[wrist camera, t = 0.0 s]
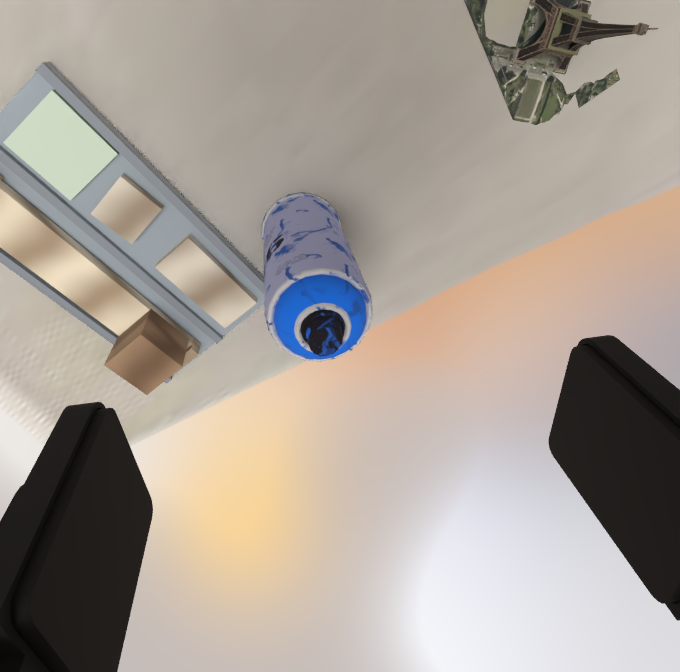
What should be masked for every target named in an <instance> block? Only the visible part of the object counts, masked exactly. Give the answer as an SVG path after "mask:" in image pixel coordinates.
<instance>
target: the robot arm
mask: <svg viewBox="0 0 680 672" xmlns="http://www.w3.org/2000/svg"><path fill="white" fill-rule="evenodd" d="M549 447H550V450H551V453H552V454H553V456H554V458H555V459H556V461H557V462H558V464H559V465H560V466H561V468H562V469H563V471H564V472H565V473H566V475H567V476H568V478H569V479H570V480H571V482H572V483H573V485H574V486H575V487H576V489H577V490H578V492H579V493H580V495H581V496H582V497H583V499H584V500H585V502H586V503H587V504H588V506H589V507H590V509H591V510H592V511H593V513H594V514H595V516H596V517H597V519H598V520H599V521H600V523H601V524H602V526H603V527H604V528H605V530H606V531H607V532H608V534H609V535H610V537H611V538H612V540H613V541H614V543H615V544H616V545H617V547H618V548H619V550H620V551H621V552H622V554H623V555H624V557H625V558H626V559H627V561H628V562H629V564H630V565H631V567H632V568H633V569H634V571H635V572H636V573H637V575H638V576H639V578H640V579H641V581H642V582H643V584H644V585H645V586H646V588H647V589H648V591H649V592H650V593H651V595H652V596H653V597H654V598H655V599H656V600H657V601H659V602H661V603H665V604H666V605H667V607H668V608H669V610H670V611H671V613H672V614H673V615H674V617H675V618H676V619H677V620H680V390H679V389H678V388H676V387H675V386H674V385H673V384H672V383H670V382H669V381H668V380H667V379H665V378H664V377H663V376H662V375H661V374H660V373H658V372H657V371H656V370H655V369H653V368H652V367H651V366H650V365H649V364H647V363H646V362H645V361H644V360H643V359H641V358H640V357H639V356H638V355H637V354H635V353H634V352H633V351H632V350H630V349H629V348H628V347H627V346H626V345H625V344H623V343H622V342H621V341H620V340H619V339H617V338H615V337H614V336H610V335H607V336H600V337H592V338H585V339H582V340H581V341H580V342H579V344H578V345H577V347H574V348H573V349H572V351H571V353H570V358H569V362H568V365H567V369H566V373H565V377H564V381H563V385H562V389H561V393H560V397H559V401H558V404H557V408H556V413H555V417H554V420H553V424H552V428H551V432H550V436H549ZM152 513H153V506H152V500H151V497H150V495H149V492H148V490H147V487H146V485H145V483H144V480H143V477H142V475H141V473H140V470H139V468H138V465H137V463H136V461H135V459H134V456H133V453H132V451H131V448H130V446H129V443H128V441H127V438H126V436H125V434H124V431H123V429H122V426H121V424H120V421H119V419H118V417H117V414H116V412H115V410H114V409H113V408H105V406H104V405H103V404H102V403H101V402H94V403H86V404H79V405H71V406H68V407H66V408H65V409H64V410H63V412H62V414H61V416H60V418H59V420H58V421H57V423H56V425H55V427H54V429H53V431H52V433H51V435H50V436H49V438H48V440H47V442H46V444H45V446H44V448H43V450H42V452H41V453H40V455H39V457H38V459H37V461H36V463H35V465H34V467H33V468H32V470H31V472H30V474H29V476H28V478H27V480H26V482H25V484H24V485H22V486H21V487H20V488H19V490H18V491H17V492H16V494H15V496H14V497H13V499H12V501H11V503H10V505H9V506H8V508H7V510H6V512H5V514H4V516H3V517H2V519H1V521H0V672H117V670H118V665H119V660H120V657H121V652H122V648H123V643H124V639H125V634H126V630H127V625H128V621H129V617H130V612H131V608H132V604H133V599H134V594H135V590H136V586H137V581H138V576H139V573H140V568H141V564H142V559H143V555H144V551H145V546H146V542H147V537H148V533H149V528H150V524H151V520H152Z"/></svg>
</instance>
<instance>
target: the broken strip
mask: <svg viewBox="0 0 680 672" xmlns="http://www.w3.org/2000/svg"><path fill="white" fill-rule="evenodd" d="M163 206H164V205H163V204H162V203H161V202H159V201H158V200H157V199H156V198H154V197H153V196H152V195H151V194H149V193H148V192H147V191H146V190H144V189H143V188H142V187H141V186H139V185H138V184H137V183H136V182H135V181H133V180H132V179H131V178H130V177H128V176H127V175H126V174H125V173H123V174H122V175H121V176H120V178H119V179H118V180H117V181H116V183H115V184H114V185H113V186H112V188H111V189H110V190H109V191H108V193H107V194H106V195H105V196H104V198H103V199H102V200H101V201H100V203H99V204H98V205H97V206H96V208H95V209H94V210H93V211H92V213H91V215H93V216H94V217H95V218H97V219H98V220H99V221H101V222H102V223H104V224H105V225H106V226H108V227H109V228H110V229H112V230H113V231H114V232H116V233H117V234H119V235H120V236H121V237H123V238H124V239H125V240H127V241H128V242H129V243H131V244H132V243H133V242H134V241H135V240H136V239H137V238H138V236H139V235H140V234H141V233H142V232H143V231H144V229H145V228H146V227H147V226H148V225H149V224H150V222H151V221H152V220H153V219H154V218H155V217H156V215H157V214H158V213H159V212H160V211H161V210H162V208H163ZM155 268H156V269H157V270H158V271H160V272H161V273H162V274H163V275H164V276H165V277H166V278H168V279H169V280H170V281H171V282H172V283H173V284H174V285H176V286H177V287H178V288H179V289H180V290H181V291H182V292H184V293H185V294H186V295H187V296H188V297H189V298H190V299H192V300H193V301H194V302H195V303H196V304H197V305H198V306H200V307H201V308H202V309H203V310H204V311H205V312H206V313H208V314H209V315H210V316H211V317H212V318H213V319H214V320H216V321H217V322H218V323H219V324H220V325H221V326H223V327H224V328H226V327H227V326H229V325H230V324H231V323H232V322H234V321H235V320H236V319H237V318H239V317H240V316H241V315H242V314H244V313H245V312H246V311H247V310H249V309H250V308H251V307H252V306H254V305H255V304H256V303H257V297H256V296H255V295H254V294H253V293H251V292H250V291H249V290H248V289H247V288H246V287H245V286H244V285H243V284H242V283H241V282H240V281H239V280H238V279H237V278H236V277H235V276H234V275H233V274H232V273H231V272H230V271H229V270H228V269H227V268H226V267H225V266H223V265H222V264H221V263H220V262H219V261H218V260H217V259H216V258H215V257H214V256H213V255H212V254H211V253H210V252H209V251H208V250H207V249H206V248H205V247H204V246H203V245H202V244H201V243H200V242H199V241H198V240H197V239H195V238H194V237H193V236H192V235H191V234H189V235H187V236H186V237H185V238H184V239H183V240H182V241H181V242H180V243H178V244H177V245H176V246H175V247H174V248H173V249H172V250H170V251H169V252H168V253H167V254H166V255H165V256H164V257H162V258H161V259H160V260H159V261H158V262H157V264H156V266H155Z"/></svg>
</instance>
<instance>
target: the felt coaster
mask: <svg viewBox="0 0 680 672" xmlns="http://www.w3.org/2000/svg"><path fill="white" fill-rule="evenodd" d="M3 143H4V144H5V145H6V146H7V147H9V148H10V149H11V150H12V151H13V152H14V153H16V154H17V155H18V156H19V157H20V158H21V159H22V160H24V161H25V162H26V163H27V164H28V165H29V166H31V167H32V168H33V169H34V170H35V171H36V172H37V173H39V174H40V175H41V176H42V177H43V178H44V179H46V180H47V181H48V182H49V183H50V184H51V185H53V186H54V187H55V188H56V189H57V190H58V191H59V192H61V193H62V194H63V195H64V196H65V197H66V198H68V199H69V200H70V201H71V200H72V199H73V198H74V197H75V196H76V195H77V194H78V193H79V192H80V191H81V190H82V189H83V188H84V187H85V186H86V185H87V184H88V183H89V182H90V181H91V180H92V179H93V178H94V177H95V176H96V175H97V174H98V173H99V172H100V171H101V170H103V169H104V168H105V167H106V166H107V165H108V164H109V163H110V162H111V161H112V160H113V159H114V158H115V157H116V156H117V155H118V154H119V152H118V151H117V150H116V149H115V148H114V147H113V146H112V145H111V144H110V143H109V142H108V141H107V140H106V139H105V138H104V137H103V136H102V135H101V134H100V133H99V132H98V131H97V130H96V129H95V128H94V127H93V126H92V125H91V124H90V123H89V122H88V121H87V120H86V119H85V118H84V117H82V116H81V115H80V114H79V113H78V112H77V111H76V110H75V109H74V108H73V107H72V106H71V105H70V104H69V103H68V102H67V101H66V100H65V99H64V98H63V97H62V96H61V95H60V94H59V93H58V92H57V91H56V90H55V89H54V90H51V92H50V93H49V94H48V95H47V96H46V97H45V98H44V99H43V100H42V101H41V102H40V103H39V104H38V106H37V107H36V108H35V109H34V110H33V111H32V112H31V113H30V114H29V115H28V116H27V117H26V118H25V120H24V121H23V122H22V123H21V124H20V125H19V126H18V127H17V128H16V129H15V130H14V131H13V132H12V134H11V135H10V136H9V137H8V138H7V139H6V140H5V141H4V142H3Z"/></svg>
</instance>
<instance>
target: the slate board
mask: <svg viewBox="0 0 680 672" xmlns="http://www.w3.org/2000/svg"><path fill="white" fill-rule="evenodd" d="M36 71H37V72H36V73H35V74H34V76H33V77H32V78H31V79H30V80H29V81H28V82H27V83H26V84H25V86H24V87H23V88H22V89H21V90H20V91H19V92H18V93H17V94H16V95H15V97H14V98H13V99H12V100H11V101H10V102H9V103H8V104H7V105H6V107H5V108H4V109H3V110H2V111H1V112H0V175H1V176H2V177H3V178H2V179H1V180H2V181H3V182H4V183H6V184H7V185H8V186H9V187H10V188H12V189H13V190H14V191H15V192H17V193H18V194H19V195H20V196H21V197H23V198H24V199H25V200H26V201H27V202H29V203H30V204H31V205H32V206H34V207H35V208H36V209H37V210H38V211H40V212H41V213H42V214H43V215H44V216H46V217H47V218H48V219H49V220H51V221H52V222H53V223H54V224H55V225H57V226H58V227H59V228H60V229H61V230H63V231H64V232H65V233H66V234H68V235H69V236H70V237H71V238H72V239H74V240H75V241H76V242H77V243H79V244H80V245H81V246H82V247H83V248H85V249H86V250H87V251H88V252H89V253H91V254H92V255H93V256H94V257H96V258H97V259H98V260H99V261H100V262H102V263H103V264H104V265H105V266H106V267H108V268H109V269H110V270H111V271H113V272H114V273H115V274H116V275H117V276H119V277H120V278H121V279H122V280H123V281H125V282H126V283H127V284H128V285H130V286H131V287H132V288H133V289H134V290H136V291H137V292H138V293H139V294H141V295H142V296H143V297H144V298H145V299H147V300H148V301H149V302H150V303H151V304H153V305H154V306H155V307H156V308H158V309H159V310H160V311H161V312H162V313H164V314H165V315H166V316H167V317H168V318H170V319H171V320H172V321H173V322H175V323H176V324H177V325H178V326H179V327H181V328H182V329H183V330H184V331H185V332H187V333H188V334H189V335H190V336H192V337H193V338H194V339H195V340H196V341H198V342H199V343H200V349H199V354H198V355H197V356H199V355H200V354H201V353H202V352H204V351H205V350H206V349H207V348H209V347H210V346H211V345H212V344H214V343H218V342H220V341H221V340H222V338H223V336H224V335H225V334H226V333H228V332H229V331H230V330H231V329H233V328H234V327H235V326H236V325H238V324H239V323H240V322H241V321H243V320H244V319H245V318H247V317H248V316H249V315H250V314H252V313H253V312H254V311H255V310H257V309H258V308H259V307H260V306H262V305H263V304H264V303H265V295H264V277H263V276H262V275H261V274H260V273H259V272H258V271H257V270H256V269H255V268H254V267H253V266H252V265H251V264H250V263H249V262H248V261H247V260H246V259H245V258H244V257H243V256H242V255H241V254H240V253H239V252H238V251H237V250H236V249H235V248H234V247H233V246H232V245H231V244H230V243H229V242H228V241H227V240H226V239H225V238H224V237H223V236H222V235H221V234H220V233H219V232H218V231H217V230H216V229H215V228H214V227H213V226H212V225H211V224H210V223H209V222H208V221H207V220H206V219H205V218H204V217H203V216H202V215H201V214H200V213H199V212H198V211H197V210H196V209H195V208H194V207H193V206H192V205H191V204H190V203H189V202H188V201H187V200H186V199H185V198H184V197H183V196H182V195H181V194H180V193H179V192H178V191H177V190H176V189H175V188H174V187H173V186H172V185H171V184H170V183H169V182H168V181H167V180H166V179H165V178H164V177H163V176H162V175H161V174H160V173H159V172H158V171H157V170H156V169H155V168H154V167H153V166H152V165H151V164H150V163H149V162H148V161H147V160H146V159H145V158H144V157H143V156H142V155H141V154H140V153H139V152H138V151H137V150H136V149H135V148H134V147H133V146H132V145H131V144H130V143H129V142H128V141H127V140H126V139H125V138H124V137H123V136H122V135H121V134H120V133H119V132H118V131H117V130H116V129H115V128H114V127H113V126H112V125H111V124H110V123H109V122H108V121H107V120H106V119H105V118H104V117H103V116H102V115H101V114H100V112H99V111H98V110H97V109H96V108H95V107H94V106H93V105H92V104H91V103H90V102H89V101H88V100H87V99H86V98H85V97H84V96H83V95H82V94H81V93H80V92H79V91H78V90H77V89H76V88H75V87H74V86H73V85H72V84H71V83H70V82H69V81H68V80H67V79H66V78H65V77H64V76H63V75H62V74H61V73H60V72H59V71H58V70H57V69H56V68H55V67H54V66H53V65H52V64H51V63H50V62H45V63H42V64H41V65H40V66H39V67H38V68H37V69H36ZM54 89H55V90H56V91H57V92H58V93H59V94H60V95H61V96H62V97H63V98H64V99H65V100H66V101H67V102H68V103H69V104H70V105H71V106H72V107H73V108H74V109H75V110H76V111H77V112H78V113H79V114H80V115H81V116H82V117H84V118H85V119H86V120H87V121H88V122H89V123H90V124H91V125H92V126H93V127H94V128H95V129H96V130H97V131H98V132H99V133H100V134H101V135H102V136H103V137H104V138H105V139H106V140H107V141H108V142H109V143H110V144H111V145H112V146H113V147H114V148H115V149H116V150H117V151H118V152H119V154H118V155H117V156H116V157H115V158H114V159H113V160H112V161H111V162H110V163H109V164H108V165H107V166H106V167H105V168H104V169H103V170H101V171H100V172H99V173H98V174H97V175H96V176H95V177H94V178H93V179H92V180H91V181H90V182H89V183H88V184H87V185H86V186H85V187H84V188H83V189H82V190H81V191H80V192H79V193H78V194H77V195H76V196H75V197H74V198H73V199H72V200H71V201H70V200H69V199H68V198H66V197H65V196H64V195H63V194H62V193H61V192H59V191H58V190H57V189H56V188H55V187H54V186H53V185H51V184H50V183H49V182H48V181H47V180H46V179H44V178H43V177H42V176H41V175H40V174H39V173H37V172H36V171H35V170H34V169H33V168H32V167H31V166H29V165H28V164H27V163H26V162H25V161H24V160H22V159H21V158H20V157H19V156H18V155H17V154H16V153H14V152H13V151H12V150H11V149H10V148H9V147H7V146H6V145H5V144H4V143H3V142H4V141H5V140H6V139H7V138H8V137H9V136H10V135H11V134H12V132H13V131H14V130H15V129H16V128H17V127H18V126H19V125H20V124H21V123H22V122H23V121H24V120H25V118H26V117H27V116H28V115H29V114H30V113H31V112H32V111H33V110H34V109H35V108H36V107H37V106H38V104H39V103H40V102H41V101H42V100H43V99H44V98H45V97H46V96H47V95H48V94H49V93H50V92H51V90H54ZM123 173H125V174H126V175H127V176H128V177H130V178H131V179H132V180H133V181H135V182H136V183H137V184H138V185H139V186H141V187H142V188H143V189H144V190H146V191H147V192H148V193H149V194H151V195H152V196H153V197H154V198H156V199H157V200H158V201H159V202H161V203H162V204H163V205H164V206H163V208H162V210H161V211H160V212H159V213H158V214H157V215H156V217H155V218H154V219H153V220H152V221H151V222H150V224H149V225H148V226H147V227H146V228H145V229H144V231H143V232H142V233H141V234H140V235H139V236H138V238H137V239H136V240H135V241H134V242H133V243H132V244H131V243H129V242H128V241H127V240H125V239H124V238H123V237H121V236H120V235H119V234H117V233H116V232H114V231H113V230H112V229H110V228H109V227H108V226H106V225H105V224H104V223H102V222H101V221H99V220H98V219H97V218H95V217H94V216H93V215H91V213H92V211H93V210H94V209H95V208H96V206H97V205H98V204H99V203H100V201H101V200H102V199H103V198H104V196H105V195H106V194H107V193H108V191H109V190H110V189H111V188H112V186H113V185H114V184H115V183H116V181H117V180H118V179H119V178H120V176H121V175H122V174H123ZM189 234H191V235H192V236H193V237H194V238H195V239H197V240H198V241H199V242H200V243H201V244H202V245H203V246H204V247H205V248H206V249H207V250H208V251H209V252H210V253H211V254H212V255H213V256H214V257H215V258H216V259H217V260H218V261H219V262H220V263H221V264H222V265H223V266H225V267H226V268H227V269H228V270H229V271H230V272H231V273H232V274H233V275H234V276H235V277H236V278H237V279H238V280H239V281H240V282H241V283H242V284H243V285H244V286H245V287H246V288H247V289H248V290H249V291H250V292H251V293H253V294H254V295H255V296H256V297H257V303H256V304H255V305H254V306H252V307H251V308H250V309H249V310H247V311H246V312H245V313H244V314H242V315H241V316H240V317H239V318H237V319H236V320H235V321H234V322H232V323H231V324H230V325H229V326H227V327H226V328H224V327H223V326H221V325H220V324H219V323H218V322H217V321H216V320H214V319H213V318H212V317H211V316H210V315H209V314H208V313H206V312H205V311H204V310H203V309H202V308H201V307H200V306H198V305H197V304H196V303H195V302H194V301H193V300H192V299H190V298H189V297H188V296H187V295H186V294H185V293H184V292H182V291H181V290H180V289H179V288H178V287H177V286H176V285H174V284H173V283H172V282H171V281H170V280H169V279H168V278H166V277H165V276H164V275H163V274H162V273H161V272H160V271H158V270H157V269H156V268H155V266H156V264H157V262H158V261H159V260H160V259H161V258H162V257H164V256H165V255H166V254H167V253H168V252H169V251H170V250H172V249H173V248H174V247H175V246H176V245H177V244H178V243H180V242H181V241H182V240H183V239H184V238H185V237H186V236H187V235H189ZM0 262H1V263H3V264H4V265H5V266H7V267H8V268H9V269H11V270H12V271H13V272H15V273H16V274H18V275H19V276H20V277H22V278H23V279H24V280H26V281H27V282H29V283H30V284H31V285H33V286H34V287H35V288H37V289H38V290H39V291H41V292H42V293H44V294H45V295H46V296H48V297H49V298H50V299H52V300H53V301H54V302H56V303H57V304H59V305H60V306H61V307H63V308H64V309H65V310H67V311H68V312H69V313H71V314H72V315H74V316H75V317H76V318H78V319H79V320H80V321H82V322H83V323H85V324H86V325H87V326H89V327H90V328H91V329H93V330H94V331H95V332H97V333H98V334H100V335H101V336H102V337H104V338H105V339H106V340H108V341H109V342H110V343H112V344H113V345H114V344H115V342H116V340H117V338H118V337H119V336H118V335H117V334H116V333H114V332H113V331H112V330H110V329H109V328H108V327H106V326H105V325H104V324H102V323H101V322H100V321H98V320H97V319H96V318H94V317H93V316H92V315H90V314H89V313H88V312H86V311H85V310H84V309H82V308H81V307H80V306H78V305H77V304H76V303H74V302H73V301H72V300H70V299H69V298H68V297H66V296H65V295H64V294H62V293H61V292H59V291H58V290H57V289H55V288H54V287H53V286H51V285H50V284H49V283H47V282H46V281H45V280H43V279H42V278H41V277H39V276H38V275H37V274H35V273H34V272H33V271H31V270H30V269H29V268H27V267H26V266H25V265H23V264H22V263H21V262H19V261H18V260H17V259H15V258H14V257H13V256H11V255H10V254H9V253H7V252H6V251H5V250H3V249H2V248H1V247H0ZM197 356H196V357H197ZM196 357H195V358H196ZM195 358H193V359H192V360H194V359H195ZM192 360H191V361H192ZM191 361H190V362H191ZM190 362H188V363H190ZM188 363H187V364H188ZM187 364H186V365H187ZM186 365H185V366H186ZM185 366H183V367H185ZM183 367H182V368H183ZM182 368H181V369H182ZM181 369H180V370H181ZM180 370H178V371H180ZM178 371H177V372H178ZM177 372H176V373H177ZM176 373H175V374H176ZM175 374H173V375H175ZM173 375H172V376H173ZM172 376H171V377H169V378H168V379H166V380H165V381H164V382H165V383H168V382H169V381H170V380H172Z"/></svg>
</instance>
